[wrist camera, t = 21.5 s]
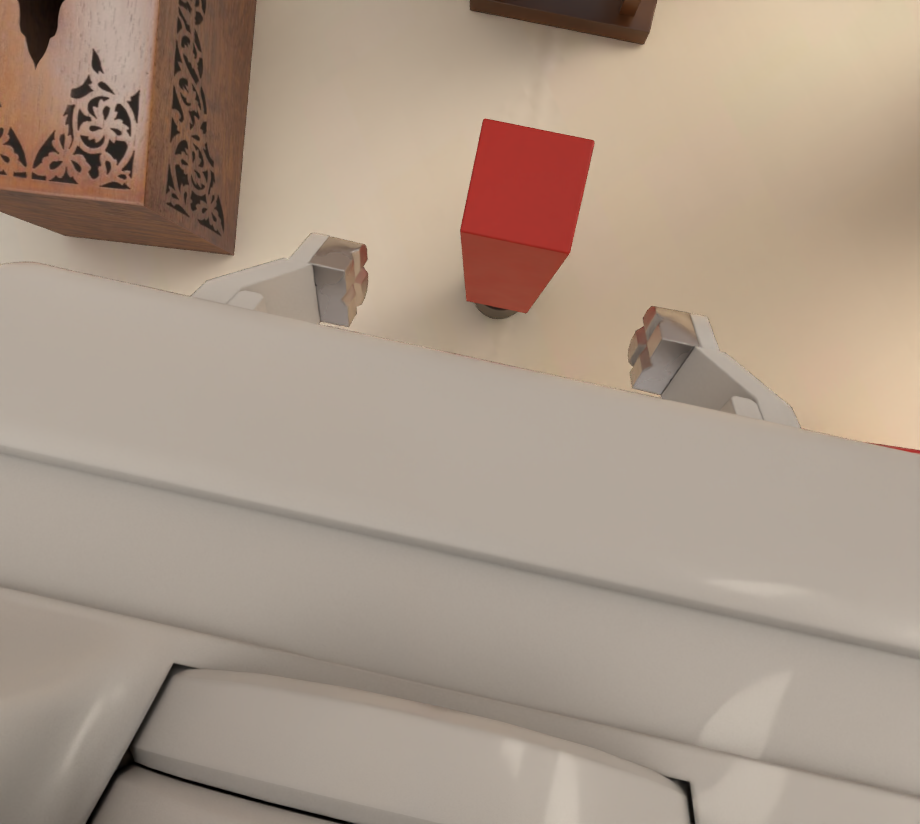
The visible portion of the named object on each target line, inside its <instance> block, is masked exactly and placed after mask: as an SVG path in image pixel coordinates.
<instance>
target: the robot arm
mask: <svg viewBox="0 0 920 824" xmlns="http://www.w3.org/2000/svg"><path fill="white" fill-rule="evenodd" d="M367 260H368V258H367V248H366V246H365V244H361V243H357V242H353V241H348V240H344V239H340V238H336V237H330V236H328V235H323V234H318V233H311V234H310V235H309V236H308V237H307V238H306V239H305V241H304V242H303V243H302V244H301V245H300V246H299V247H298V249H297V250H296V251H295V252H294V253H293V254H292V255H291V257H290V258H289V259H286V258H281V259H278V260H275V261H271V262H268V263H264V264H261V265H258V266H254V267H251V268H247V269H244V270H241V271H237V272H234V273H230V274H227V275H224V276H220V277H217V278H214V279H210V280H207V281H206V282H205V283H203V284H202V285H201V286H200V287H199V288H198V289H197V290H196V291H195V292H194V293H193V294H192V295H191V296H186V295H182V294H177V293H173V292H168V291H163V290H159V289H154V288H149V287H145V286H140V285H136V284H131V283H126V282H122V281H117V280H113V279H108V278H103V277H99V276H94V275H90V274H85V273H80V272H76V271H72V270H67V269H63V268H59V267H55V266H51V265H46V264H41V263H36V262H13V263H6V264H0V824H920V454H916V453H911V452H907V451H902V450H898V449H893V448H888V447H884V446H879V445H875V444H870V443H865V442H861V441H856V440H852V439H847V438H842V437H838V436H833V435H829V434H824V433H819V432H815V431H810V430H805V429H801V427H800V424H799V422H798V420H797V418H796V416H795V413H794V411H793V409H792V407H791V406H790V405H788V404H787V403H786V402H785V401H783V400H782V399H781V398H780V397H779V396H777V395H776V394H775V393H774V392H773V391H771V390H770V389H769V388H768V387H766V386H765V385H764V384H763V383H762V382H760V381H759V380H758V379H757V378H756V377H754V376H753V375H752V374H751V373H749V372H748V371H747V370H746V369H745V368H743V367H742V366H741V365H740V364H739V363H737V362H736V361H735V360H734V359H732V358H731V357H730V356H729V355H728V354H726V353H724V352H720V350H719V347H718V344H717V342H716V339H715V336H714V333H713V330H712V328H711V325H710V322H709V319H708V318H707V317H706V316H704V315H698V314H692V313H687V312H682V311H677V310H671V309H666V308H660V307H655V306H651V307H650V308H649V309H648V310H647V312H646V313H645V315H644V317H643V323H644V326H643V327H642V328H640V329H638V330H637V331H636V332H635V334H634V336H633V338H632V339H631V342H630V346H629V349H628V362H629V363H630V364H631V365H632V366H633V368H632V369H631V371H630V378H631V385H632V388H633V389H637V390H641V391H646V392H650V393H654V394H658V395H661V398H658V397H653V396H648V395H644V394H639V393H635V392H630V391H625V390H621V389H616V388H611V387H607V386H602V385H598V384H593V383H588V382H584V381H579V380H574V379H570V378H565V377H561V376H556V375H551V374H547V373H542V372H537V371H533V370H528V369H524V368H519V367H514V366H510V365H505V364H500V363H496V362H491V361H487V360H482V359H477V358H473V357H468V356H464V355H459V354H454V353H450V352H445V351H440V350H436V349H431V348H427V347H422V346H417V345H413V344H408V343H404V342H399V341H394V340H390V339H385V338H380V337H376V336H371V335H367V334H362V333H357V332H353V331H348V330H344V329H339V328H334V327H330V326H325V325H320V324H319V323H320V322H326V323H331V324H336V325H341V326H347V327H349V326H350V324H351V323H352V321H353V319H354V317H355V316H356V314H357V306H359V305H362V303H363V301H364V299H365V296H366V293H367V288H368V273H367V271H366V270H365V268H364V267H363V266H364V265H365V263H366V261H367Z"/></svg>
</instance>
